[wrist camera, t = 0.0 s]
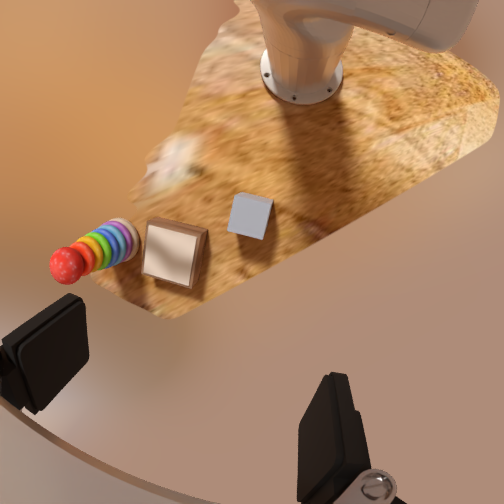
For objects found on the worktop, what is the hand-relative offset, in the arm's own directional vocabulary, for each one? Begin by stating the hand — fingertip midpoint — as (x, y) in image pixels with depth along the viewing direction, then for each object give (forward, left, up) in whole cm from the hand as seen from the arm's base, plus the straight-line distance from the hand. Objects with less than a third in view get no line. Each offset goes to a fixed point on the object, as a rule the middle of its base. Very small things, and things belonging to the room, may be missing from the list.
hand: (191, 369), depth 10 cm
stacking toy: (+10, -24, -37) cm, 45 cm away
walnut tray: (+9, -13, -37) cm, 40 cm away
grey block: (0, -2, -37) cm, 37 cm away
